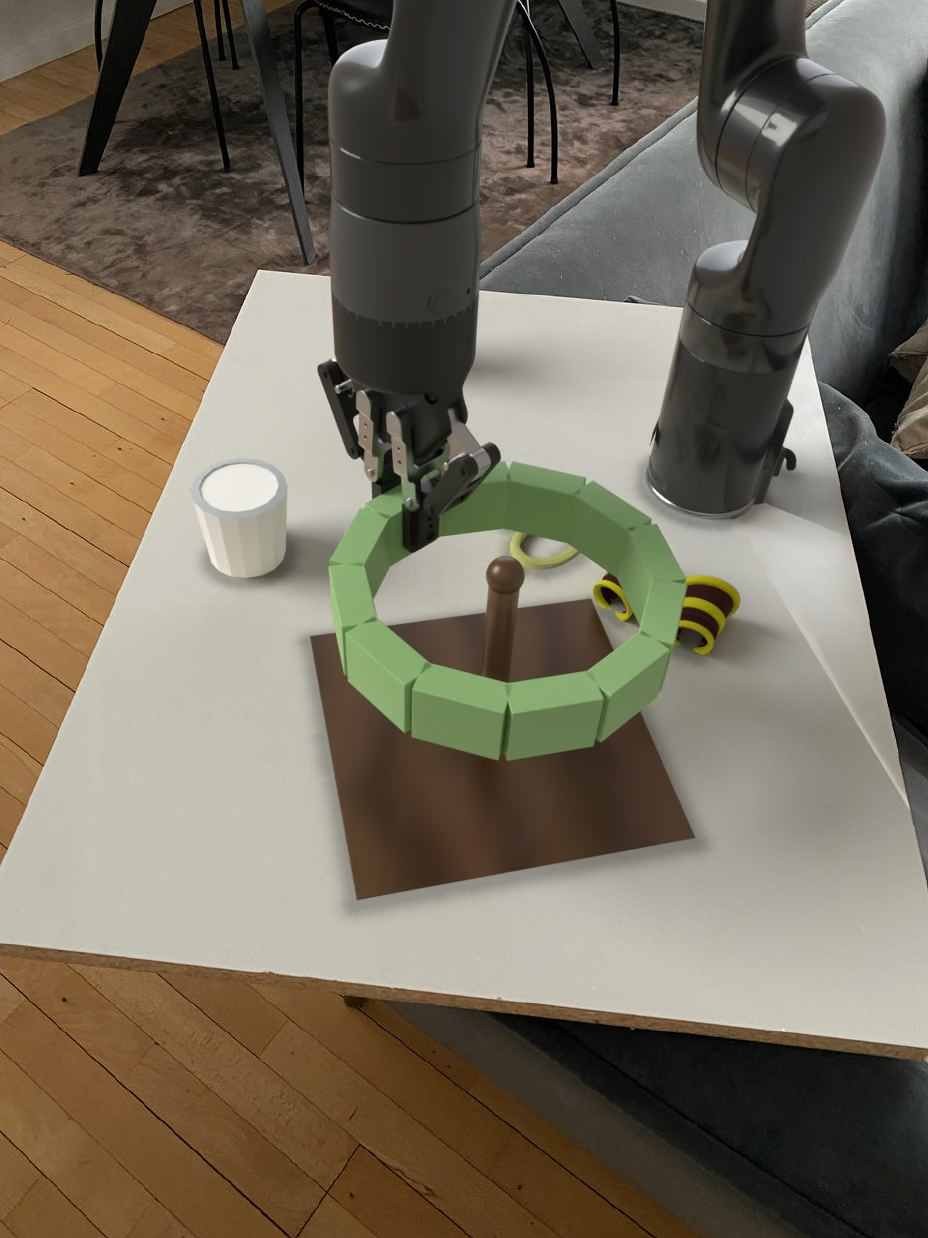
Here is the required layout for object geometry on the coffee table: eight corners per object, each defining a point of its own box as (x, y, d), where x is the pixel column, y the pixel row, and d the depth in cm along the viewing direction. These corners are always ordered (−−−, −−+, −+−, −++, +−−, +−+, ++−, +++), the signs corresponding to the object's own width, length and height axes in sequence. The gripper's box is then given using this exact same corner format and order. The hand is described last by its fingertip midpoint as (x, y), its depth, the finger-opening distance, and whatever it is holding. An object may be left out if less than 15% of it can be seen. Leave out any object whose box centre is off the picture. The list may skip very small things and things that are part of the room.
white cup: (205, 529, 82) (193, 457, 77) (293, 525, 83) (287, 455, 78) (200, 590, 77) (186, 519, 72) (293, 586, 78) (286, 515, 73)
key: (457, 483, 87) (459, 463, 86) (595, 530, 84) (599, 510, 83) (419, 534, 83) (419, 514, 81) (563, 586, 80) (566, 566, 78)
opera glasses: (586, 614, 79) (590, 574, 75) (621, 566, 81) (626, 525, 77) (703, 672, 75) (714, 635, 71) (735, 621, 78) (747, 581, 74)
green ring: (607, 495, 70) (616, 447, 67) (722, 724, 57) (739, 677, 54) (314, 531, 66) (310, 482, 63) (366, 785, 53) (364, 738, 50)
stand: (589, 603, 79) (623, 430, 67) (693, 842, 65) (758, 676, 53) (310, 641, 75) (294, 464, 63) (356, 905, 61) (347, 739, 49)
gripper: (556, 309, 51) (525, 565, 64) (374, 207, 58) (379, 457, 70) (442, 364, 47) (434, 624, 60) (263, 248, 54) (289, 504, 67)
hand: (404, 533), depth 65 cm, fingers closed on green ring, 2 cm apart
